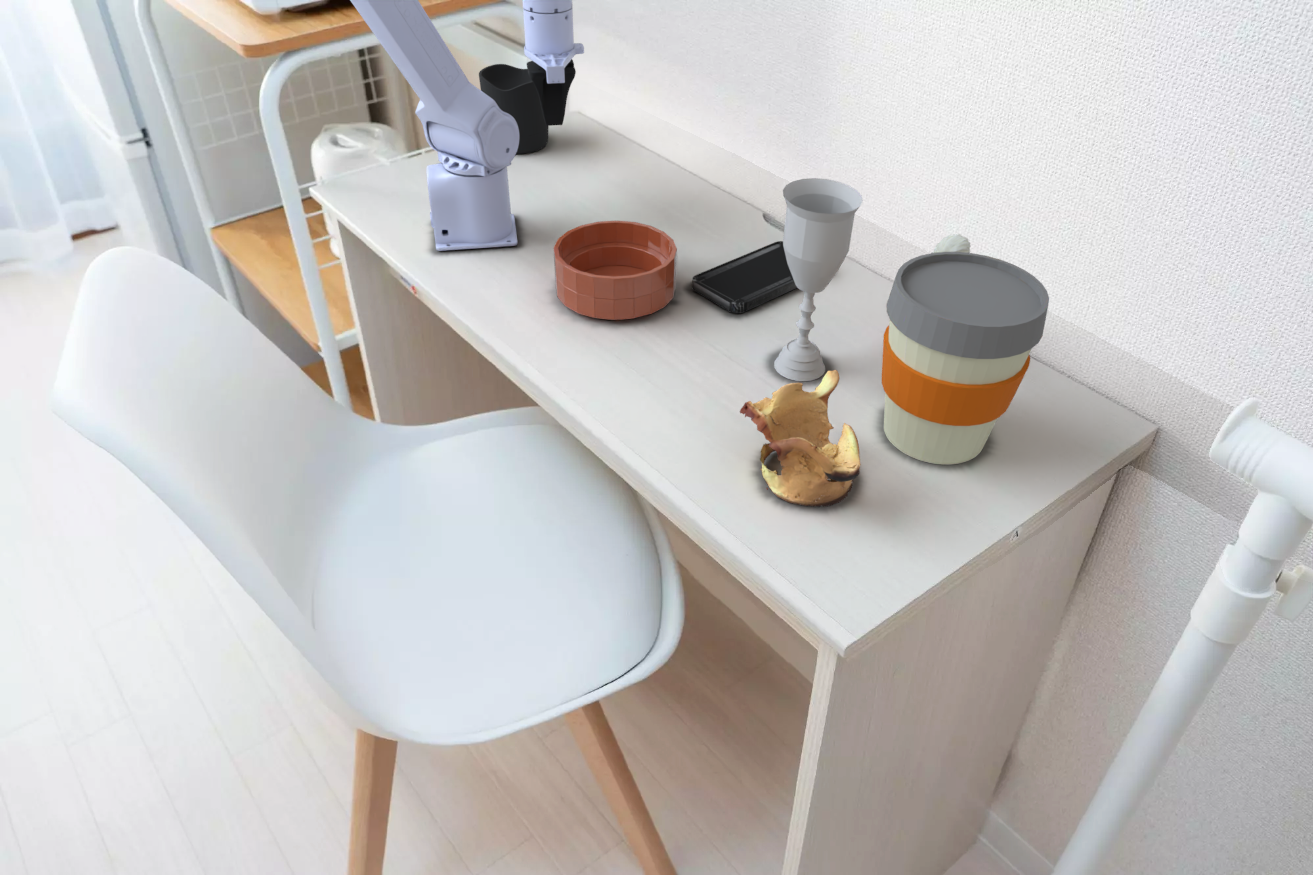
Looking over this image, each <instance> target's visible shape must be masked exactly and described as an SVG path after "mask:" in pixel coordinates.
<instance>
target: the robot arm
mask: <svg viewBox="0 0 1313 875" xmlns="http://www.w3.org/2000/svg"><path fill="white" fill-rule="evenodd" d="M349 1H350V3H351V4H352V5H353V7H354V8H355V9H356V11H357V12H358V14H359V15H360V16H361V18H362V20H363V21H364V22H365V24H366V25H367V27H368V28H369V29H370V31H371V32H372V34H373V36H375V37H376V39H377V40H378V42H379V43H380V45H381V46H382V48H383V49H384V50H385V52H386V53H387V55H388V56H389V58H390V59H391V61H392V62H393V63H394V64H395V66H396V68H397V69H398V71H399V72H400V73H401V75H402V77H404V79H405V80H406V82H407V83H408V84H409V86H410V87H411V89H412V90H413V91H414V93H415V94H416V96H417V97H418V98H419V101H418V103H417V106H416V109H415V115H416V117H418V119H419V121H420V122H421V126H422V129H423V134H424V139H425V140H426V142H427V144H428V146H429V148H431V149H432V150H434V151H435V152H437V159H438V160H437V161H438V162H439V163H434V164H427V165H426V182H427V191H428V192H427V194H428V200H429V206H430V212H429V219H430V226H431V228H432V229H433V234H434V241H435V250H436V251H438V252H439V251H440V252H441V251H442V252H443V251H455V250H457V251H459V250H471V249H487V248H502V247H503V248H504V247H514V246H517V245H518V236H517V226H516V218H515V214H513V213H512V210H511V198H510V187H509V186H510V185H509V175H508V173H509V172H508V167H510V166H511V165H512V162H513V160H514V159H515V156H516V155H517V154H516V152H517V150H518V146H519V129H518V125H517V122H516V121H515V119H514V118H513V117H512V116H511V115H510V114H508V113H506V112H503V111H502V110H501V109H500V108H499V107H498V105H497V104H496V102H495V101H494V100H493V99H492V98H491V97H489V96H488V95H486V94H485V93H484V92H482V91H481V89H480V88H478V87H477V86H476V85H474V84H473V83H471V82H470V81H469V79H468V76H466V74H465V72H464V71H463V69H462V67H461V66H460V64H459V63H458V61H457V60H456V58H455V56H454V55H453V54H452V52H451V50H450V48H449V47H448V45H447V44H446V42H445V40H444V39H443V38H442V36H441V34H440V33H439V31H438V29H437V28H436V26H435V25H434V23H433V21H432V20H431V19H430V17H429V15H428V14H427V12H426V11H425V9H424V7H423V5H422V4H421V3H420V1H419V0H349ZM573 8H574V7H573V0H522V13H523V14H522V16H523V27H524V28H523V29H524V44H525V45H524V46H523V54H524V56H525V57H526V58H528V59H529V61H528V62H526V69H528V74H529V76H530V78H531V80H532V81H533V83H534V85H535V87H536V90H537V92H538V95H539V99H540V104H541V108H542V113H543V117H544V121H545V123H546V126H548V127H549V126H550V127H552V126H563V124H564V120H565V114H566V107H567V100H568V95H569V91H570V88H571V86H572V83H573V82H574V80H575V77H576V74H577V71H576V68H575V63H574V62H575V61H574V60H573V58H574V57H575V56H576V55H582V54H584V53H585V46H584V44H583V43H581V42H580V43H579V42H575V39H574V37H575V36H574V10H573Z"/></svg>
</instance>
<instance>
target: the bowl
mask: <svg viewBox="0 0 1313 875" xmlns="http://www.w3.org/2000/svg"><path fill="white" fill-rule="evenodd" d="M552 249H553V264H554V282H555V291H556V297H557V298H558V300H559V301H560V302H561V303H562V305H564V307H566V308H568V309H569V310H571V311H573V312H575V313H576V314H579V315H582V316H586V317H589V318H593V319H601V320H608V321H611V320H612V321H621V320H622V321H623V320H630V319H631V320H633V319H636V318H641V317H644V316H648V315H652V314H654V313H656V312H658V311H660V310H662V309H664V308H665V307H666V306H667V305H668V304H669V303H670V302H671V301H672V300H673V299H674V297H675V292H676V288H677V263H678V262H677V261H678V260H677V258H678V256H677V255H678V248H677V245H676V243H675V240H674V239H673V238H672V237H671V235H669V234H668V233H666V232H665V231H663V230H661V229H659V228H657V227H654V226H652V225H649V224H645V223H641V222H637V221H629V220H602V221H601V220H600V221H595V222H590V223H585V224H582V225H579V226H576V227H573V228H571V229H569V230H567V231H566V232H564V233H563V234H562V235H561V236H559V237H558V238H557V240H556V241H555V244H554V246H553V248H552Z"/></svg>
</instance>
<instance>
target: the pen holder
mask: <svg viewBox="0 0 1313 875" xmlns="http://www.w3.org/2000/svg"><path fill="white" fill-rule="evenodd" d="M478 79H479V87H480V88H479V89H480V90H481V91H482V92H484V93H485V94H486V95H488V96H489V97H491V98H492V99H493V100H494V101H495V102H496V104H497V105H498V107H499V108H500V109H501V110H502V111H503V112H506V113H508V114H510V115H511V116H512V117H513V118H514V119H515V121H516V122H517V125H518V129H519V146H518V150H517V152H516V155H524V154H531V153H534V152H538V151H540V150H542V149H543V148H546V146H547V144H548V143H549V126H546V123H545V121H544V117H543V113H542V108H541V104H540V99H539V95H538V92H537V90H536V87H535V85H534V83H533V81H532V80H531V78H530V76H529V74H528V69H527V68H519V67H515V66H513V65H509V64H506V63H494V64H490V65H487V66H486V67H483V68H482V69H481V70H479V72H478Z"/></svg>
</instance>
